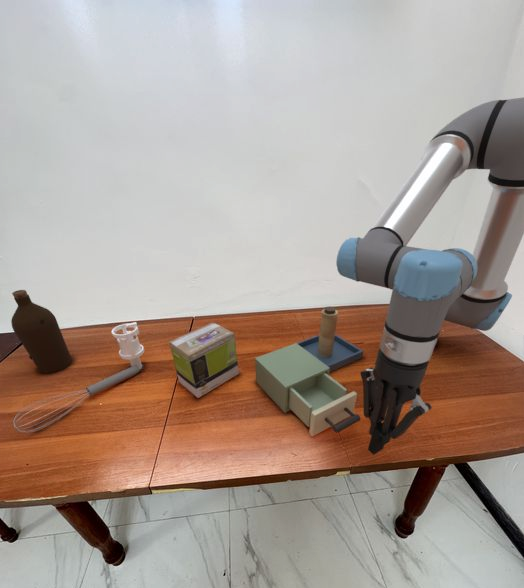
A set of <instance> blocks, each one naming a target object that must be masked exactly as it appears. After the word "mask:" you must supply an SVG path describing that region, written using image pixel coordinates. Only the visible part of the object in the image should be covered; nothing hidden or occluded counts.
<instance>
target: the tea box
mask: <svg viewBox="0 0 524 588" xmlns="http://www.w3.org/2000/svg"><path fill="white" fill-rule="evenodd" d="M168 343H169V347H170V348H169V349H170V352H171V356H172V360H173V363H174V367H175V371H176V376H177V379H178V382H179V383H180V385H182V386H183V387H184V388H185V389H186V390H187V391H188V392H190V393H191V394H192V395H193V396H195V397H196V398H197V399H199V398H201V397H203V396H205V395H206V394H208V393H209V392H210V391H212V390H214V389H216V388H218V387H219V386H221V385H224V384H225V383H226V382H228V381H229V380H232V379H233V378H235V377H237V376H238V375H240V374H239V373H240V372H239V371H240V369H239V363H238V353H237V346H236V345H237V344H236V337H235V333H234V332H233V331H232V330H229V329H227V328H225V327H223V326H222V325H219V324H218V323H215V321H214V322H209V323H208V324H206V325H203V326H201V327H199V328H197V329H195V330H192V331H190V332H188V333H185V334H184V335H181V336H179V337H176V338H175V339H173V340H170V341H168Z"/></svg>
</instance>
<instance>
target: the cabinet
mask: <svg viewBox="0 0 524 588" xmlns="http://www.w3.org/2000/svg"><path fill="white" fill-rule="evenodd" d="M297 343H298V342H295V343H293V344H289V345H287V346H284V347H281V348H278V349H275V350H273V351H270V352H268V353H265V354H262V355H259V356H257V357H254V366H255V367H254V369H255V370H254V371H255V383H256V384H257V385H258V386H259V387H260V389H261V390H263V392H265V393H266V395H267V396H268V397H269V398H270V399H271V400H272V401H273V402H274V403H275V404H276V405H277V406H278V407H279V409H281V411H282V412H283V413H287V412H290V411H292V410H291V409H290V408H289V407H288V388H291V387H293V386H295V385H297V384H300V383H302V382H304V381H307V380H309V379H311V378H313V377H316V376H318V375H320V374H322V373H326V374H328V375H329V376H330V373H331V372H330V368H329V367H328V366H327V365H325V364H324V363H323V362H321V361H320V360H319V359H317V358H316V357H314V356H313V355H312V354H310V353H309V352H308V351H306V350H305V349H304V348H302V347H301V346H300V345H298V344H297Z"/></svg>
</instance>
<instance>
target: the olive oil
mask: <svg viewBox="0 0 524 588" xmlns="http://www.w3.org/2000/svg"><path fill="white" fill-rule="evenodd" d="M11 294H12V296H13V299H14V301H15V303H16V304H17V307H16V309H15V311H14V313H13V315H12V317H11V320H10V322H11V328H12V330H13V333H14V334H15V335H16V336H17V339H18V340H19V341H20V342H21V345H22V346H23V347H24V350H26V352H27V354H28V357H29V359H30V360H31V361H32V362H33V363H34V365H35V366H36V368H37V370H38V371H39V372H40V373H42V374H52V373H58V372H60V371H63V370H65V369H66V368H68V367H69V366H70V365H71V364H72V362H73V358H72V355H71V353H70V351H69V349H68V345H67V343H66V341H65V338H64V336H63V334H62V331H61V328H60V326H59V323H58V321H57V317H56V316H55V315H54V314H53V312H52V311H50V309H48V308H47V307H44V306H41V305H39V304H37V303H34V302H32V299H31V297H30V295H29V294H28V292H27V290H26V289H18V290H15V291H13V292H12V293H11Z"/></svg>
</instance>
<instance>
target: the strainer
mask: <svg viewBox="0 0 524 588" xmlns="http://www.w3.org/2000/svg"><path fill="white" fill-rule="evenodd" d="M127 328H133V330H127ZM120 330H122V333H120V334H119V333H117V332H119V331H120ZM138 335H140V330H139V327H138V323H137V321H133V322H130V323H129V322H127V323H122V324H119V325H116V326H114V328H112V329H111V336H112V337H113V338H115V339H116V340H117V344H118V347H119V351H118V355H119V358H121V359H123V360H127V361H129V364H130V367H132V366H136V365H137V366H138V365H140V366H138V367H139V369H141V370H142V369H143V365H142V361H141V358H140V357H141V356H143V354H144V353H145V347H144V345H143V344H141V343H140V339H139V337H138ZM134 336H135V337H136V338H134Z"/></svg>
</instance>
